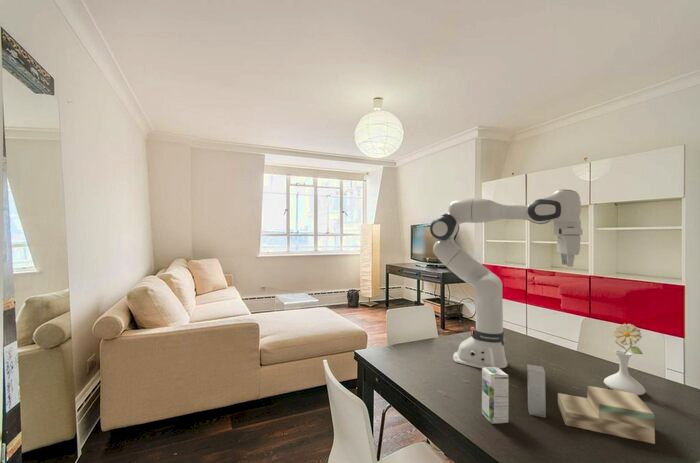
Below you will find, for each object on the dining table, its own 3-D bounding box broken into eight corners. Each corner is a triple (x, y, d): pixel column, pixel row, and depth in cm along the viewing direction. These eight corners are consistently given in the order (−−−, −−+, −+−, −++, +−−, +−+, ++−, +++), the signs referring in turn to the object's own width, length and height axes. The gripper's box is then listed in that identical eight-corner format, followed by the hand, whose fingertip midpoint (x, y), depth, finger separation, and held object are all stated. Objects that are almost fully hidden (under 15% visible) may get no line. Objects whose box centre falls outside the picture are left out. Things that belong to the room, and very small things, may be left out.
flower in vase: (595, 383, 118) (594, 317, 118) (626, 383, 118) (625, 317, 118) (625, 401, 105) (623, 327, 105) (659, 401, 104) (658, 327, 105)
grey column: (529, 414, 97) (528, 369, 97) (527, 407, 101) (527, 364, 101) (545, 417, 95) (545, 372, 95) (543, 410, 99) (543, 366, 99)
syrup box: (481, 413, 97) (480, 367, 98) (498, 412, 98) (498, 366, 98) (490, 424, 92) (490, 375, 92) (509, 423, 92) (509, 374, 93)
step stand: (566, 425, 91) (565, 398, 91) (557, 405, 102) (557, 380, 102) (655, 444, 83) (654, 414, 83) (636, 420, 94) (635, 393, 94)
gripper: (552, 231, 133) (552, 263, 133) (563, 229, 114) (563, 267, 114) (570, 231, 130) (570, 263, 130) (583, 229, 111) (584, 268, 111)
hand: (567, 265), depth 122 cm, fingers open, 8 cm apart
